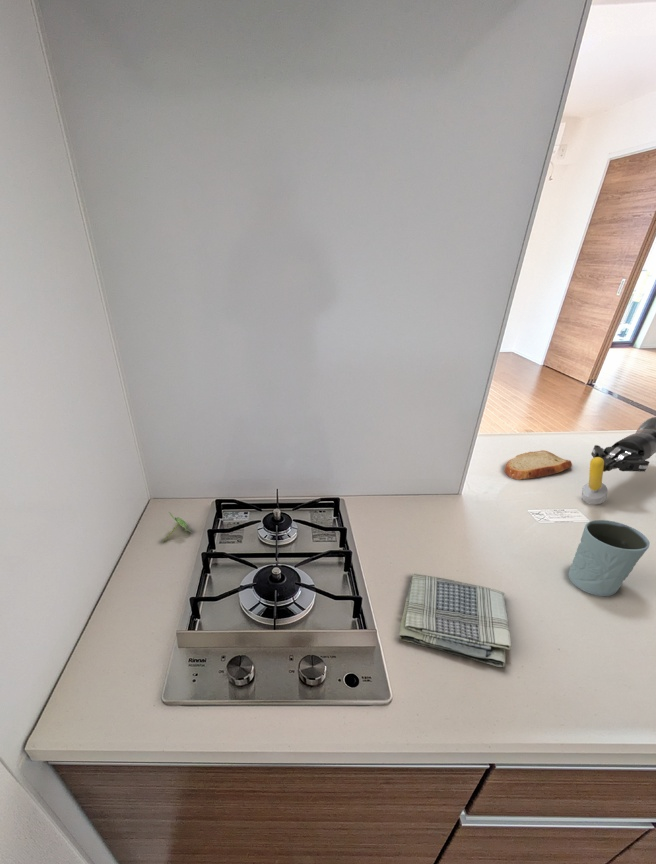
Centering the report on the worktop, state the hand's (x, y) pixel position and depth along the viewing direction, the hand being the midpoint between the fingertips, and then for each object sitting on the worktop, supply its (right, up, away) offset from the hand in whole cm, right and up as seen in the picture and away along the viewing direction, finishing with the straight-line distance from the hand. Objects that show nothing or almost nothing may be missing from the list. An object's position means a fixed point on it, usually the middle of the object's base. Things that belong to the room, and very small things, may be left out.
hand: (602, 467), depth 106 cm
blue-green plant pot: (-16, -25, -18) cm, 34 cm away
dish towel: (-47, -31, -25) cm, 62 cm away
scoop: (+3, -7, +7) cm, 10 cm away
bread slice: (-2, +1, +23) cm, 23 cm away
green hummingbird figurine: (-104, -16, -1) cm, 106 cm away
